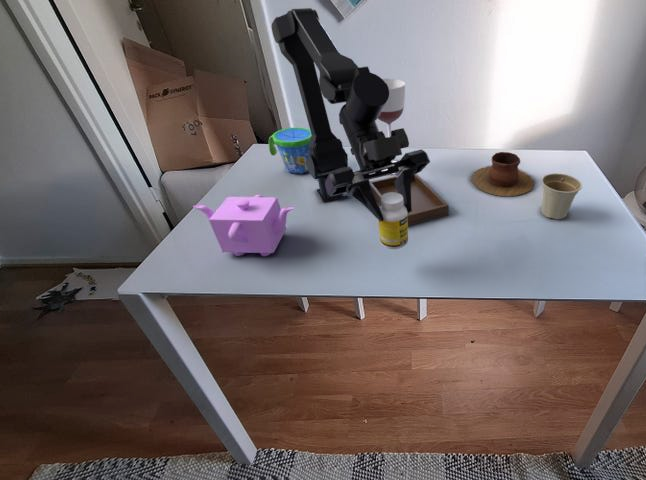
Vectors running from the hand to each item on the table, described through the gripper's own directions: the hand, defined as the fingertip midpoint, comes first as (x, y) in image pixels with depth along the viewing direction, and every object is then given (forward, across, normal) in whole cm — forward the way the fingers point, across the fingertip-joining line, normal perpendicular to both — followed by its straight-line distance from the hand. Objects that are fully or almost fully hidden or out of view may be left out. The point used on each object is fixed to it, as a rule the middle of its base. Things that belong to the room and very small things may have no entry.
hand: (396, 216), depth 70 cm
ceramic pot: (-4, +44, +23) cm, 50 cm away
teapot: (-7, -22, +27) cm, 35 cm away
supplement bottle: (+4, 0, +6) cm, 7 cm away
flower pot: (+10, +44, +9) cm, 46 cm away
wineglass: (-20, +21, +40) cm, 49 cm away
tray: (-7, +15, +26) cm, 31 cm away
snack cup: (-29, -2, +49) cm, 57 cm away
